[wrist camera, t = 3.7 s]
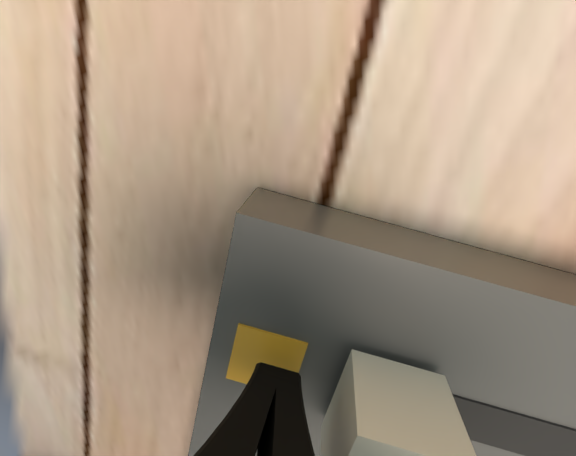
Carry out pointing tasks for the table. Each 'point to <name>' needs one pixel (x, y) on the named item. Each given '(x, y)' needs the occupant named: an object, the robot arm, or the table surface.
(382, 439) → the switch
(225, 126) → the table surface
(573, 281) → the switch panel
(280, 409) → the robot arm
